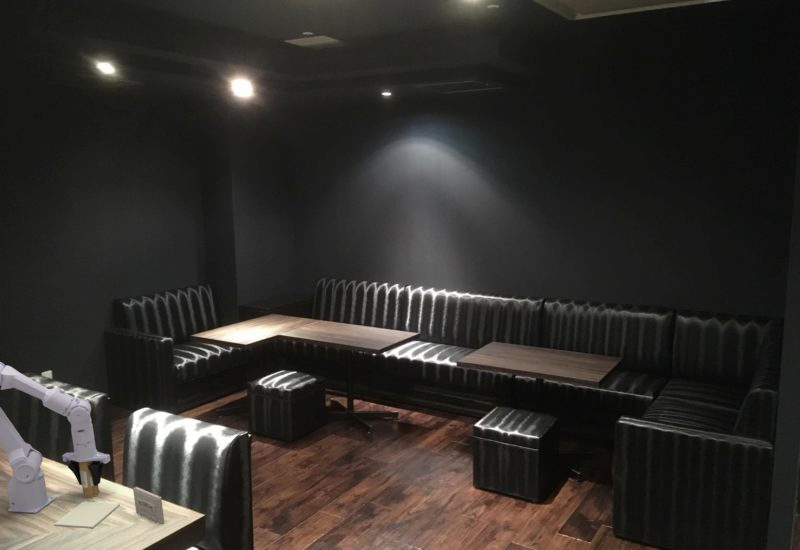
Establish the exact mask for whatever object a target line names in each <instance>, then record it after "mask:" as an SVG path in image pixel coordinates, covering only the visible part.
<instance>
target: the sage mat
mask: <svg viewBox="0 0 800 550" xmlns="http://www.w3.org/2000/svg"><path fill="white" fill-rule="evenodd" d="M119 507H121V504H120V503H111V502H110V503H109V502H97V501H96V502H93V501H82V502H81V503H80V504H78V505H77V506H75V507H74V508H72V510H71V511H69V512H68V513H66V514H65V515H64V516H63V517H62V518H60V519H59V520H58V521H56V522H55V523H54V526H55V527H66V528H81V529H82V528H83V529H92V530H93V529H94V528H95V527H97V526H98V525H99V524H100V523H101V522H103V521H104V520H105V519H106V518H107V517H109V516H110V515H111V514H112V513H114V511H116V510H117V509H118V508H119Z"/></svg>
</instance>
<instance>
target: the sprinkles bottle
mask: <svg viewBox="0 0 800 550" xmlns="http://www.w3.org/2000/svg"><path fill="white" fill-rule="evenodd" d="M90 464H92V461H87V462H79V467H80V476H81V483H82V485H81V486H82V493H83V494H82V496H83V498H93V497H96V496H98V495H99V494H100V488H99V484H98V485H97V486H94V484H93V480H92V475H91V472H90V470H89V469H88V466H89V465H90Z"/></svg>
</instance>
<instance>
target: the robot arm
mask: <svg viewBox="0 0 800 550" xmlns="http://www.w3.org/2000/svg"><path fill="white" fill-rule="evenodd" d="M0 386H1V387H0V390H1V391H2V390H8V389H9V390H10V389H16V390H19V391H22V392H23V393H26V394H28V395H30V396H32V397H34V398H37V399H39V400H41V401H42V405H43V406H44V407H45V408H48V409H49V410H51V411H53V412H55V413H58V414H59V415H62V416H63V417H67V420H68V422H69V423H70V426H71V428H70V431H71V437H72V444H73V452H65V453H64V454H63V455H61V457H62V461H63V462H64V463H65V462H68V461H70V463H69V464H68V465H67V468H68V469H69V470H70V471H71V472H72V473H73V474H74V476H75V479H76V481H77V483H78V484H79V486H82V483H81V476H80V467H79V462H87V461H92V464H90V465H89V466H88V469H89V470H90V472H91V475H92V480H93V484H94V486H97V485H98V486H99V485H100V484H101V479H102V473H103V469H104V467H105V465H106V464H108V463H109V462H111V455H110V454H108V453H104V452H100V451H98V449H96V447H97V446H96V441H95V433H94V427H93V426H94V425H93V423H92V417H91V412H92V405H91V404H90V402H89V401H88V400H86V399H85V398H79V397H78V396H76V397H75V396H72V395H70V394H68V393H66V392H65V389H63V388H62V387H60V388H59V389H58V388H57V387H54V388H47V387H45V386H44V385H42V384H41V383H40V382H39V383H38V382H37V381H36V380H33V379H31V378H29V377H28V376H27V375H24V374H23V373H21V372H19V371H18V370H17V369H16V368H14V367H12V366H10V365H5V364H4V363H3V362H1V361H0ZM0 446H1V448H2V449H3V451H4V452H5V453H6V455H7V459H8V464H9V467H10V468H11V469H12V478H11V479H10V480H9V482H8V483H7V488H6V490H7V496H8V503H9V508H8V509H7V511H8V512H14V513H15V512H17V513H27V514H28V513H29V514H37V513H38V512H39V511H41V510H42V509H44V508H45V507H46V506H48V505H49V504H51V503H52V502H53V501H55V500H56V498H55V497H48V493H47V491H48V490H47V486H46V480H45V473H44V471H43V470H42V468H41V466H42V463H43V460H44V459H43V455H42V453H41V452H40V451H38V450H37V449H35V448H33V447H32V445H31V444H29V443H27V442H25V441H24V439H23V438H22V435H20V433H19V432H18V430H17V429H16V428H15V425H13V423H12V422H11V420H10V419H9V417H7V415H6V413H5V411H4V410H3V409H2V407H1V406H0Z"/></svg>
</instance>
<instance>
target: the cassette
mask: <svg viewBox="0 0 800 550" xmlns="http://www.w3.org/2000/svg"><path fill="white" fill-rule="evenodd" d="M132 490H133V499H134V507H135V512H136V514H138V515H139V516H140V515H141V516H140V517H142V516H143V518H145V519H147V520H149V519H150V520H149V521H151V520H152V522H153V521H154V522H153V523H155V524H156V523H157V522H158V523H159V524H161V525H162V524H164V523H165V516H164V515H165V514H164V509H163V508H164V507H163V501H162V496H160V495H157V494H155V493H153V492H150V491H147V490H145V489H144V488H141V487H139V486H135V487H133V488H132Z"/></svg>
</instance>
